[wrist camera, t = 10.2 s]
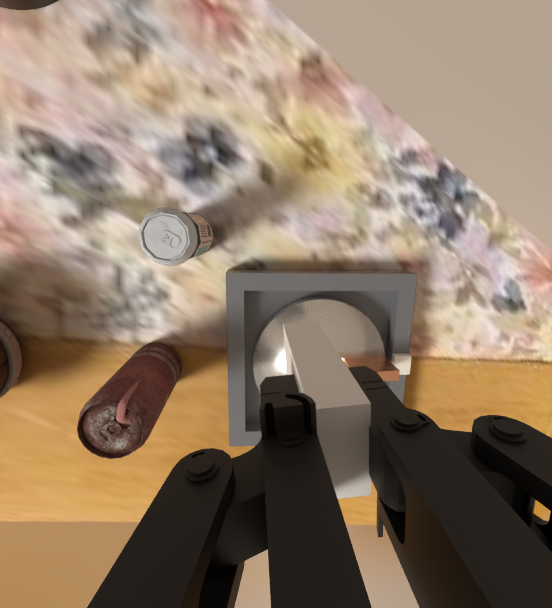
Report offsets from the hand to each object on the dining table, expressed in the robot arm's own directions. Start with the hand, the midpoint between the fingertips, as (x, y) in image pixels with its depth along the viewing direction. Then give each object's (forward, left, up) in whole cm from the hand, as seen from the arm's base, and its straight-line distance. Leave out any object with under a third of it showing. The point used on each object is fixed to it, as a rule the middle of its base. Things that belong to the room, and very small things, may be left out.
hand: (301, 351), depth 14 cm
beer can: (-5, -9, -26) cm, 28 cm away
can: (+11, -14, -26) cm, 32 cm away
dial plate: (+10, +6, -26) cm, 28 cm away
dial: (+10, +6, -24) cm, 27 cm away
